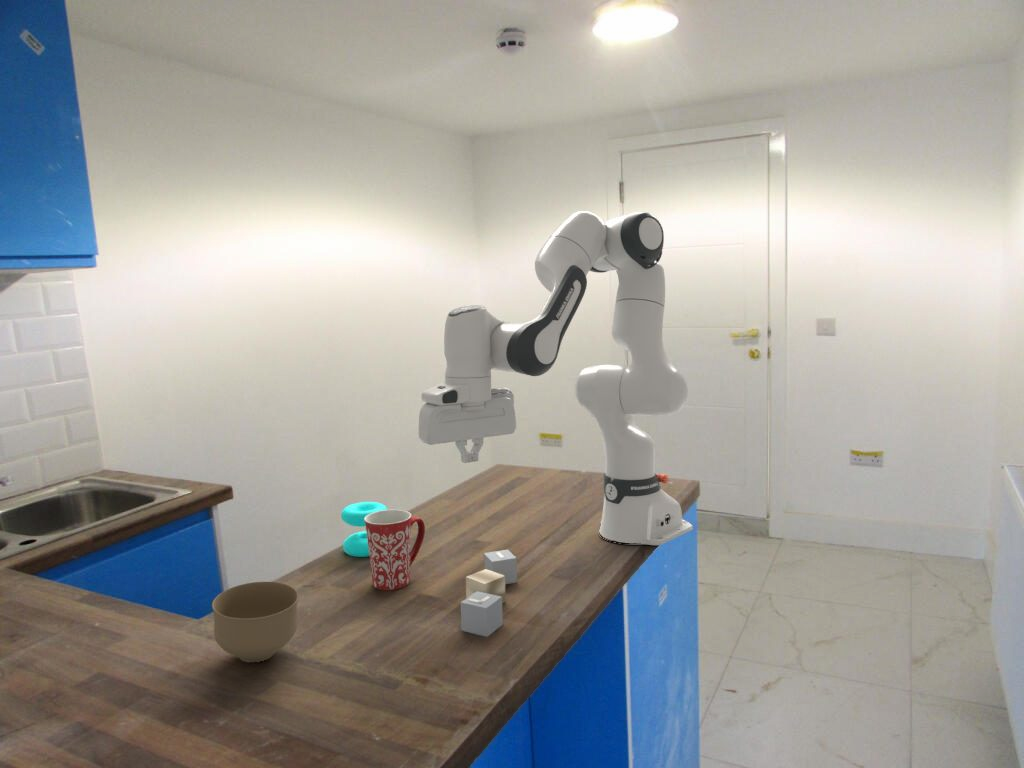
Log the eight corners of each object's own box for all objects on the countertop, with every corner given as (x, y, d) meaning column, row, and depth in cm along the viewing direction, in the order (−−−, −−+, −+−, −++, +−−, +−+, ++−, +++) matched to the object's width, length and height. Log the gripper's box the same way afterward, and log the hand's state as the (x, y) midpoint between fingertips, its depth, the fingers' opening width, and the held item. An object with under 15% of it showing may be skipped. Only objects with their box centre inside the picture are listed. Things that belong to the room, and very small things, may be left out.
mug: (382, 596, 134) (379, 526, 133) (359, 583, 141) (355, 516, 140) (438, 578, 143) (436, 512, 141) (413, 566, 149) (410, 502, 148)
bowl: (253, 686, 104) (248, 620, 103) (198, 664, 111) (193, 602, 110) (318, 649, 115) (315, 589, 114) (265, 631, 122) (261, 574, 120)
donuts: (395, 502, 161) (371, 515, 152) (397, 545, 162) (373, 561, 153) (357, 498, 165) (331, 511, 155) (360, 541, 166) (333, 555, 157)
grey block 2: (508, 573, 145) (507, 548, 144) (517, 582, 140) (516, 557, 139) (484, 577, 143) (483, 552, 142) (492, 586, 138) (492, 561, 138)
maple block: (486, 594, 135) (485, 568, 134) (505, 602, 131) (504, 575, 130) (466, 603, 131) (465, 576, 130) (485, 611, 128) (484, 584, 127)
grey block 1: (477, 619, 125) (476, 590, 124) (502, 624, 122) (501, 596, 121) (461, 631, 120) (460, 601, 120) (487, 637, 118) (486, 607, 117)
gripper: (504, 385, 147) (505, 452, 149) (413, 393, 136) (415, 465, 137) (522, 388, 142) (523, 457, 143) (429, 396, 130) (431, 472, 132)
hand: (469, 461), depth 140 cm, fingers closed
